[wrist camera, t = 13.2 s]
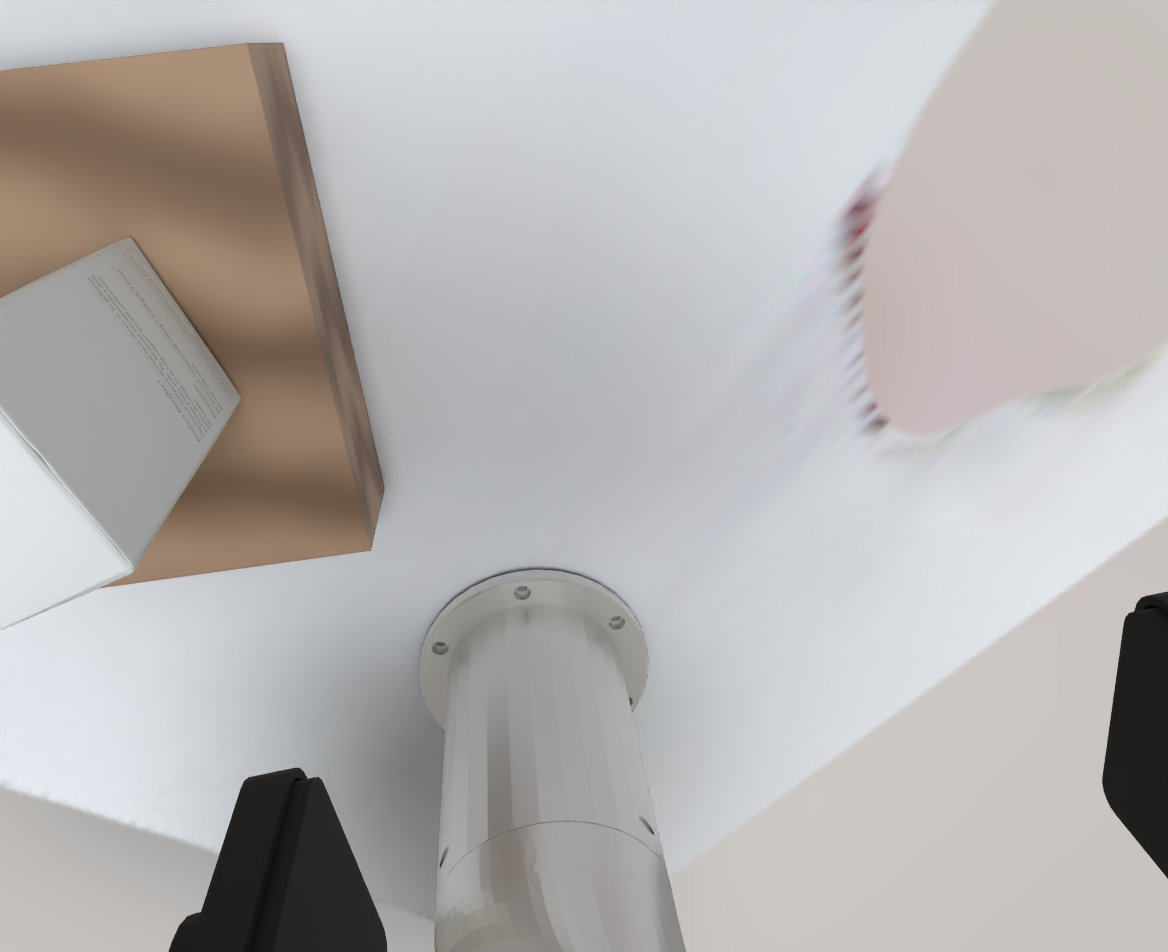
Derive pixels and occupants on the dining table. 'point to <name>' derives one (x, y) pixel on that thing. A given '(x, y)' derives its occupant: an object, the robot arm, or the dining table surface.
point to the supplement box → (96, 425)
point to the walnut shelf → (208, 280)
